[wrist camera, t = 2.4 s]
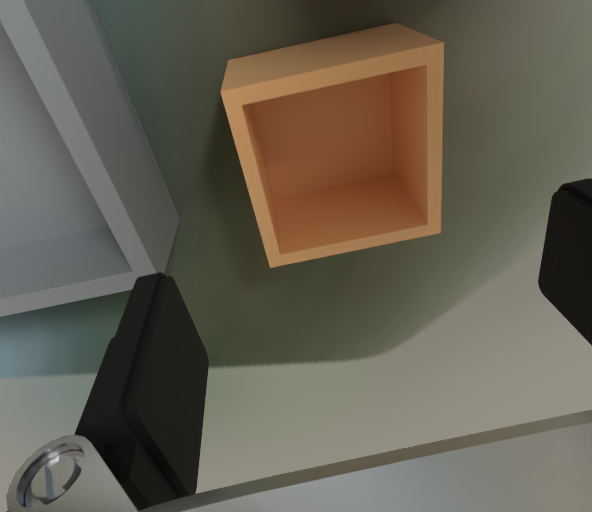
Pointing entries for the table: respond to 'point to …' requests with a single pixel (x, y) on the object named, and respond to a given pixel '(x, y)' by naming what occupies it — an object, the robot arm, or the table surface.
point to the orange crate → (340, 140)
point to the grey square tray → (72, 164)
